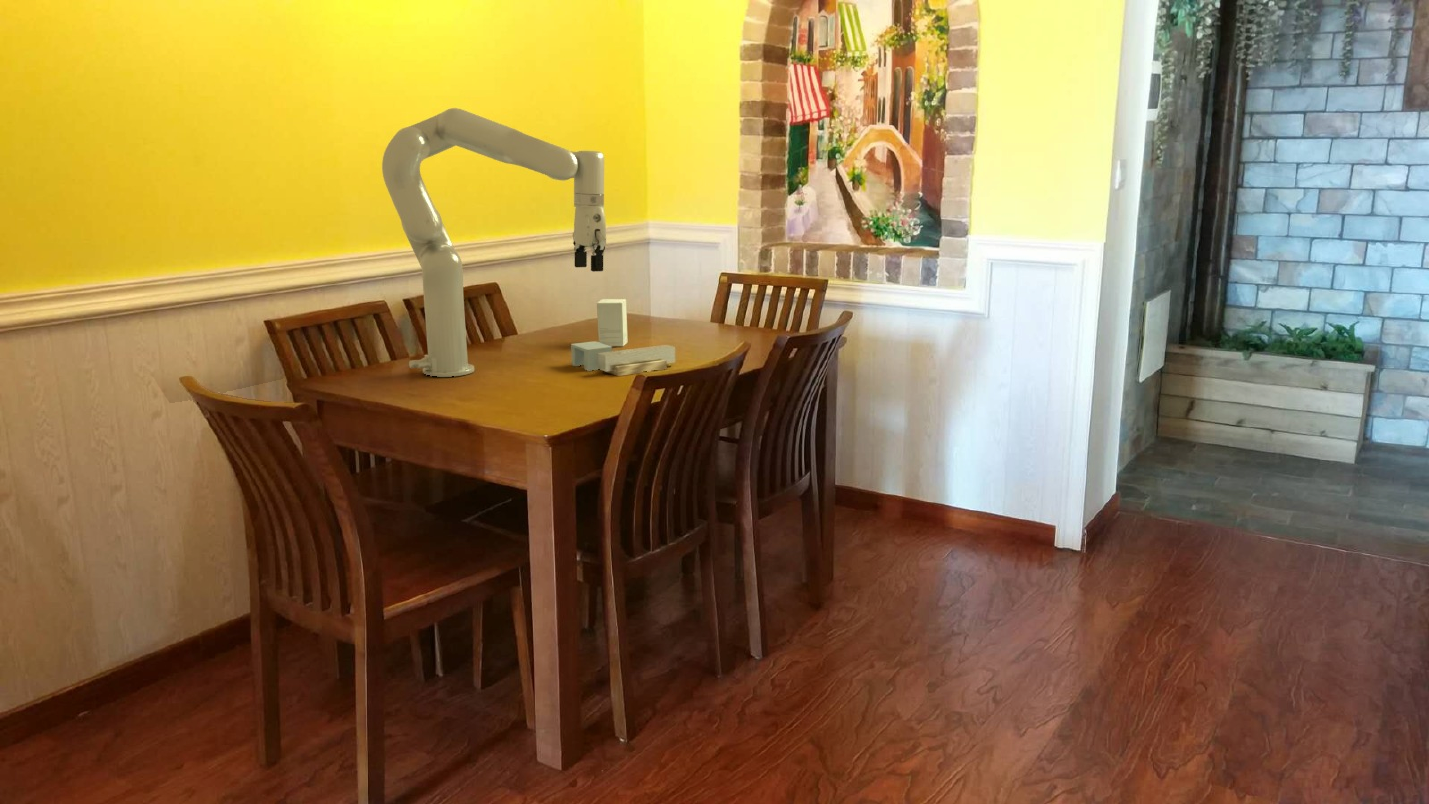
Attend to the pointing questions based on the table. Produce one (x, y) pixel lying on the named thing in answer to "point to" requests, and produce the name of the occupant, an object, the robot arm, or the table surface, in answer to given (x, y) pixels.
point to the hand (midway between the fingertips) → (588, 269)
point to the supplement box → (612, 322)
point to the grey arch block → (588, 354)
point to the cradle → (639, 368)
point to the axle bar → (635, 356)
